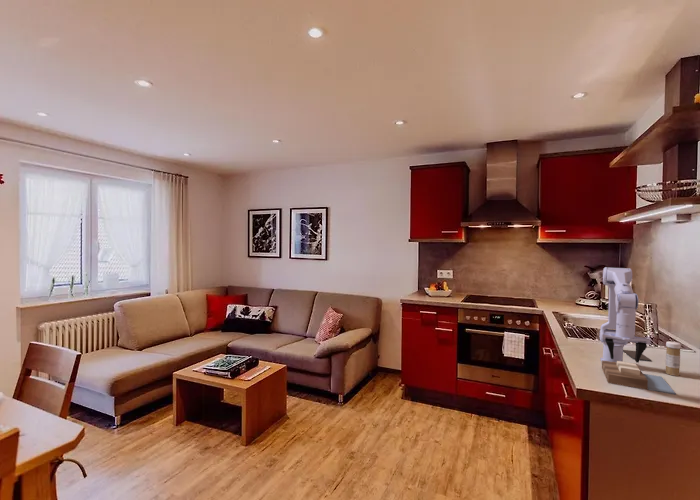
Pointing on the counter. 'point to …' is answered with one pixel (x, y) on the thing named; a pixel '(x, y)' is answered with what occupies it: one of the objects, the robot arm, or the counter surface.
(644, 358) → the smartphone
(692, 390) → the counter surface
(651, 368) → the counter surface
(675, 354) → the sprinkles bottle
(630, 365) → the cream block
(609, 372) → the deck
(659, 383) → the mat
